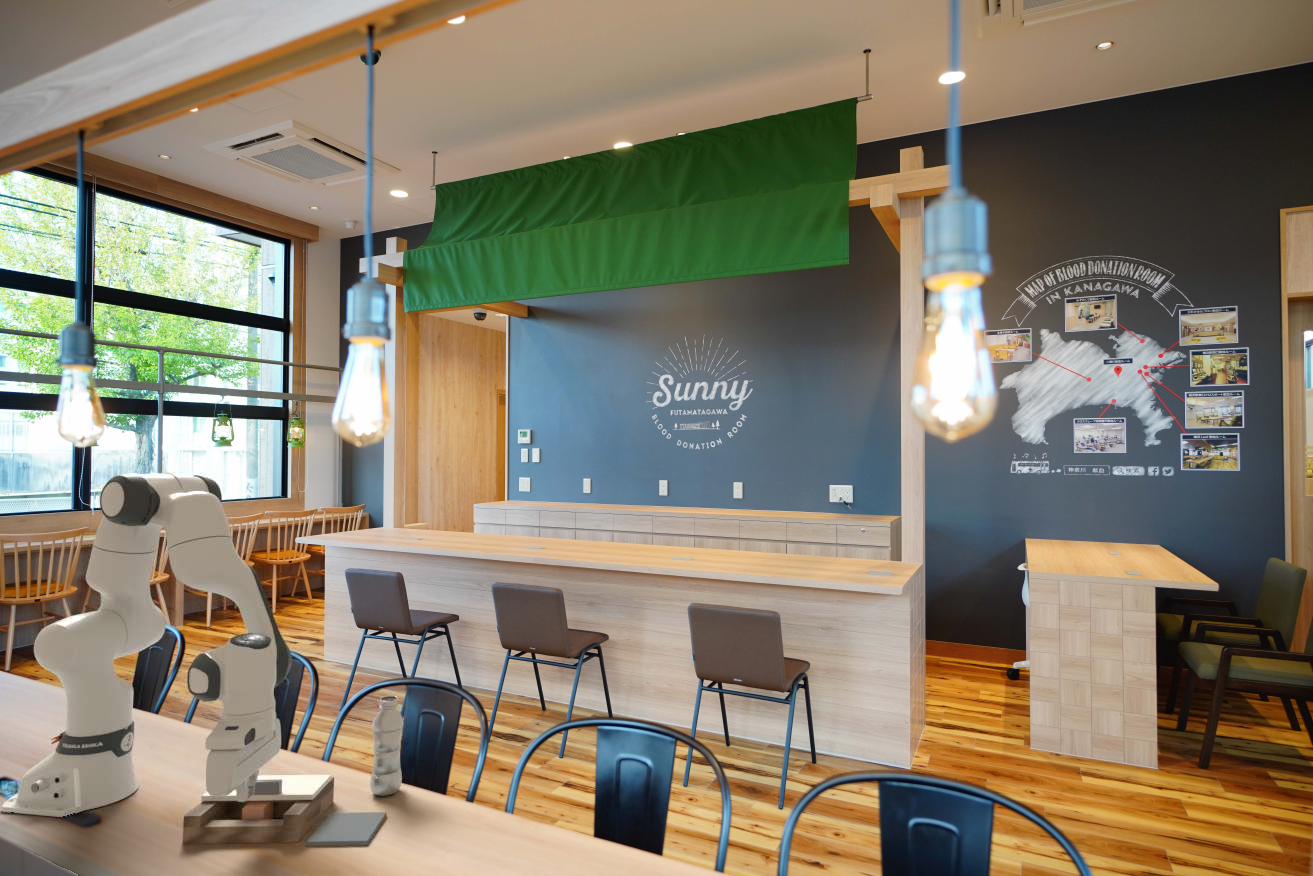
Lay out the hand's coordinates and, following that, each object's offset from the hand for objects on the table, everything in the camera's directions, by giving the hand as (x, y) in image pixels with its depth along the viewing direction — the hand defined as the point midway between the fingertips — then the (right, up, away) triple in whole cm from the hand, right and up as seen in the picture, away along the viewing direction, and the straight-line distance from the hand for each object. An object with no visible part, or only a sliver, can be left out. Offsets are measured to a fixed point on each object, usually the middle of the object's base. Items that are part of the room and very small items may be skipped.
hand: (245, 798), depth 132 cm
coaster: (+17, -8, +4) cm, 20 cm away
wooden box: (-1, -8, +7) cm, 11 cm away
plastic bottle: (+19, -9, +20) cm, 29 cm away
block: (-1, -8, +5) cm, 10 cm away
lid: (-1, -3, +9) cm, 10 cm away
